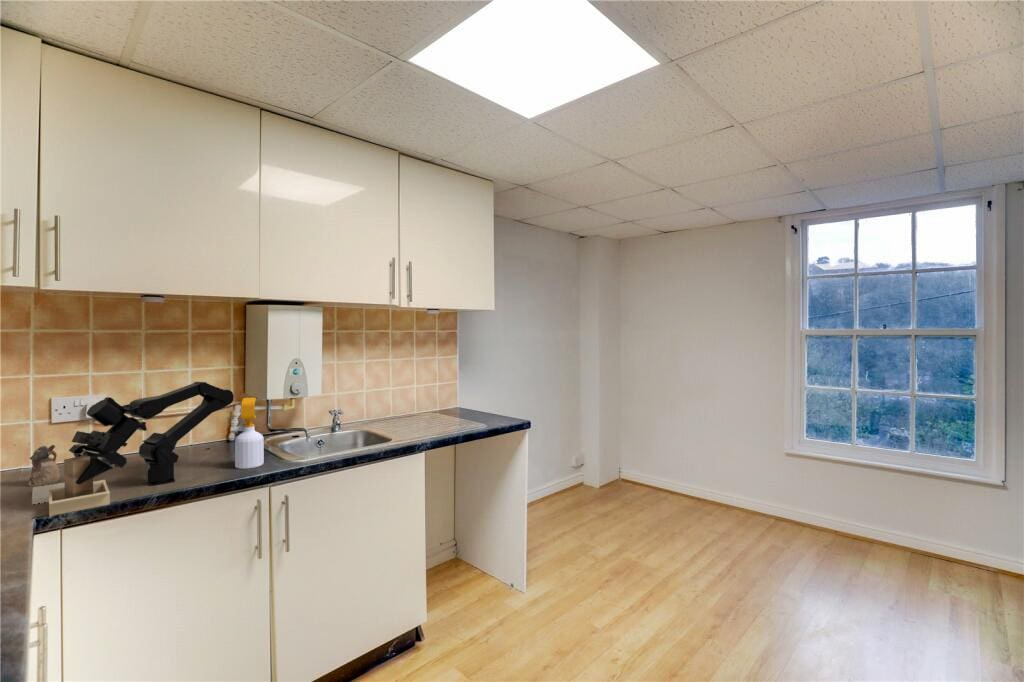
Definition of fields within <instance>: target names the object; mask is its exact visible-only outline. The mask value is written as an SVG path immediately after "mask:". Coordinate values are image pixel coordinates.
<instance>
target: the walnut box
mask: <svg viewBox="0 0 1024 682" xmlns="http://www.w3.org/2000/svg"><path fill="white" fill-rule="evenodd" d="M63 464H64V465H63V467H64V468H63V470H64V471H63V473H64V474H63V475H64V477H63V478H64V482H65V499H68V498H74V497H79V496H85V495H90V494H93V482H94V477H93V478H91V479H89V480H87V481H85V482H83V483H81V484H77V483H76V481H77V480H78V478H79V477H80V476H81V474H82V473H83V472H84V471H85V469H86V468H87V467H88V466H89V464H90V457H88V456H79V457H75V456H73V457H70V458H65V459H63ZM64 482H63V483H64Z"/></svg>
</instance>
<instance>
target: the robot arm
mask: <svg viewBox="0 0 1024 682" xmlns="http://www.w3.org/2000/svg"><path fill="white" fill-rule="evenodd" d="M197 396H200V397H202V401H201V403H200V404H199V405H198V406H197V407H195V408H194V409H192V411H191V412H189V413H188V414H186V415H185V416H184V417H183V418H182V419H180V420H179V421H178V422H176V423H175V424H174V425H173V426H172V427H170V428H169V429H168V430H166V431H164V432H163V433H159V432H153V433H152V434H151V435H149V437H148V438H146V439H143V440H142V444H141V445H139V448H138V449H139V450H138V455H139V456H140V457H141V458H142V459H143V460H144V461H145V462H144V463H147V464H148V467H147V468H146V469H145V471H146V474H145V475H146V482H147V484H149V486H155V485H156V484H157V485H161V484H167V482H168V483H172V481H173V482H176V479H175V463H177V462H178V459H179V457H180V456H179V455H178V454H177V453H176V452H174V450H175V448H176V445H177V444H178V442H179V441H180V440H181V439H183V438H184V437H185V436H186V435H187V434H188V433H190V432H191V431H192V430H193V429H194V428H196V427H197V426H198V425H200V423H201V422H203V421H205V419H207V418H208V417H209V416H210V415H212V414H213V413H215V412H217V411H220V410H223V409H225V408H226V407H229V405H231V404H232V403H233V402H234V398H235V397H234V393H233V392H232V390H230V389H225V388H220V387H217V386H214V385H211V384H210V383H208V382H206V381H205V382H204V381H194V382H193V383H191V384H187V385H186V386H182V387H180V388H177V389H174V390H171V391H169V392H166V393H163V394H160V395H155V396H149V397H142V398H138V399H137V398H136V399H133V400H132V401H130V402H129V404H124V405H120V404H119V403H118V402H117V401H115V399H113V398H112V397H109V396H106V397H104V399H102V400H99V401H97V402H96V403H94V404H92V405H91V406H90V407H89V409H88V410H87V411H86V415H87V416H88V417H90V418H92V419H93V420H95V421H96V422H97V423H99V424H101V425H102V426H104V427H108V426H111V427H110V428H109V429H107V430H106V431H97V430H91V432H90V433H89V432H84V431H79V430H77V431H76V432H75V434H74V436H73V438H72V439H71V442H72V443H76V444H73V446H71V447H70V448H69V449H68V452H70V453H72V454H73V457H79V456H88V457H90V464H89V466H88V467H87V468H86V469H85V471H84V472H83V473H82V474H81V476H80V477H79V478H78V480H77V481H76V483H77V484H81V483H83V482H85V481H87V480H89V479H91V478H93V479H94V477H95V478H96V477H97V476H99V475H101V474H103V473H105V472H107V471H110V470H113V469H114V467H115V468H118V469H122V468H124V467H125V465H126V464H127V463H128V462H127V459H128V458H126V457H125V456H123V455H122V454H120V453H119V452H118V451H119V450H120V449H121V448H122V447H124V448H125V447H126V446H127V445H128V443H127V441H128V440H129V439H130V438H131V437H132V435H134V434H135V432H137V431H143V432H145V431H147V424H146V423H147V422H146V421H139V419H142V420H143V419H144V420H145V419H146V420H149V419H152V418H155V417H156V416H158V415H160V414H161V413H163V411H164V410H166V409H167V408H169V407H171V406H173V405H176V404H179V403H182V402H184V401H187V400H189V399H192V398H195V397H197ZM127 415H129V416H131V417H128V416H127ZM113 465H114V467H113Z"/></svg>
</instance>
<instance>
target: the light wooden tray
mask: <svg viewBox="0 0 1024 682" xmlns="http://www.w3.org/2000/svg"><path fill="white" fill-rule="evenodd" d="M110 494H111V491H110V490H109V487H108V485H107V482H106V479H102V480H95V481H94V480H93V494H90V495H85V496H79V497H74V498H68V499H65V486H64V487H58V488H52V489H49V502H48V509H49V511H48V512H49V513H48V514H49V515H48V516H49V517H51V516H52V517H53V516H56V515H63V514H67V513H72V512H76V511H82V510H83V511H84V510H88V509H94V508H97V507H103V506H108V505H110V504H111V503H110V497H111V496H110Z"/></svg>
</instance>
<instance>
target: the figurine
mask: <svg viewBox="0 0 1024 682" xmlns="http://www.w3.org/2000/svg"><path fill="white" fill-rule="evenodd" d="M55 448H56V445H55V444H51V445H50V446H49V447H48V446H46V445H41V446H39V447H38V448H36V449H35V450H34V451H33V454H32V456H30V457H29V460H31V465H32V466H31V467H32V468H31V470H30V476H29V479H28V486H29V485H30V487H32V486H35V487H39V486H42V485H44V486H45V485H48V484H49V485H51V484H52V483H53V484H57V483H59V481H60V478H61V473H60V469H59V466H58V463H57V457H58V456H57V453H56V451H55V450H54V449H55ZM50 455H53V457H50Z"/></svg>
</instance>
